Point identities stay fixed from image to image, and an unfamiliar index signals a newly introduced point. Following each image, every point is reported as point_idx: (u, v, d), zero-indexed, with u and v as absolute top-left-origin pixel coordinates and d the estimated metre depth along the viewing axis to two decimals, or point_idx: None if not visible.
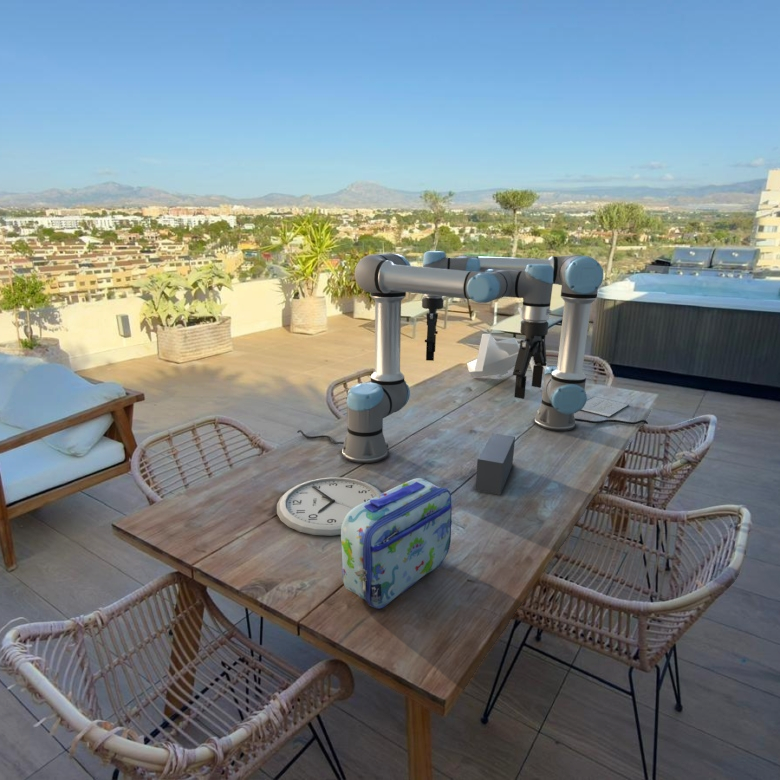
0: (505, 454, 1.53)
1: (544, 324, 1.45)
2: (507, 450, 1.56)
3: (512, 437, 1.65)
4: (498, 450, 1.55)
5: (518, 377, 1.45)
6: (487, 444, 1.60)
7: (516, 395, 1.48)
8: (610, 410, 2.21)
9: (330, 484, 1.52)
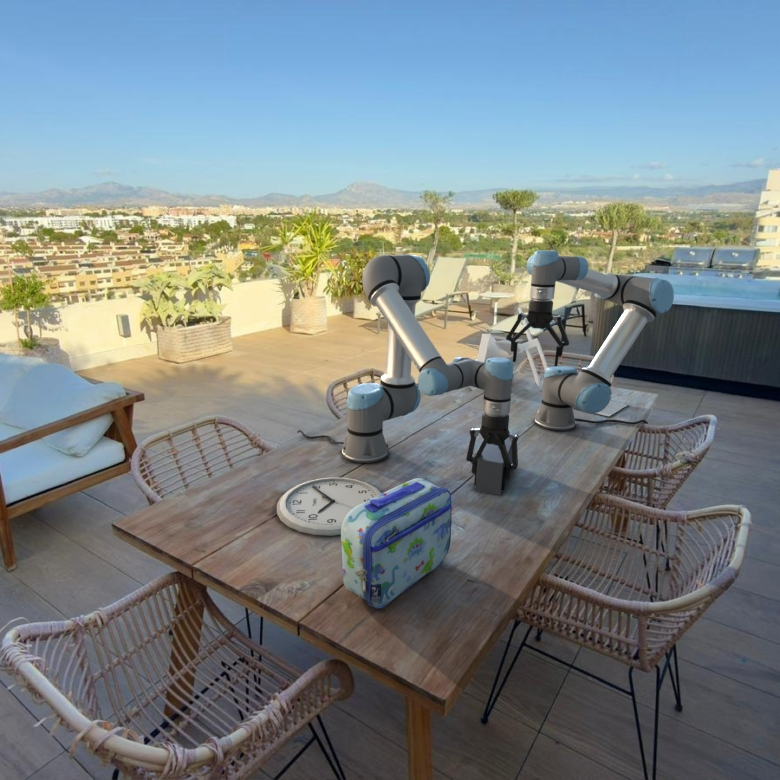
0: None
1: (488, 417, 1.45)
2: (507, 450, 1.56)
3: None
4: (498, 450, 1.55)
5: None
6: (487, 444, 1.60)
7: None
8: (610, 410, 2.21)
9: (330, 484, 1.52)
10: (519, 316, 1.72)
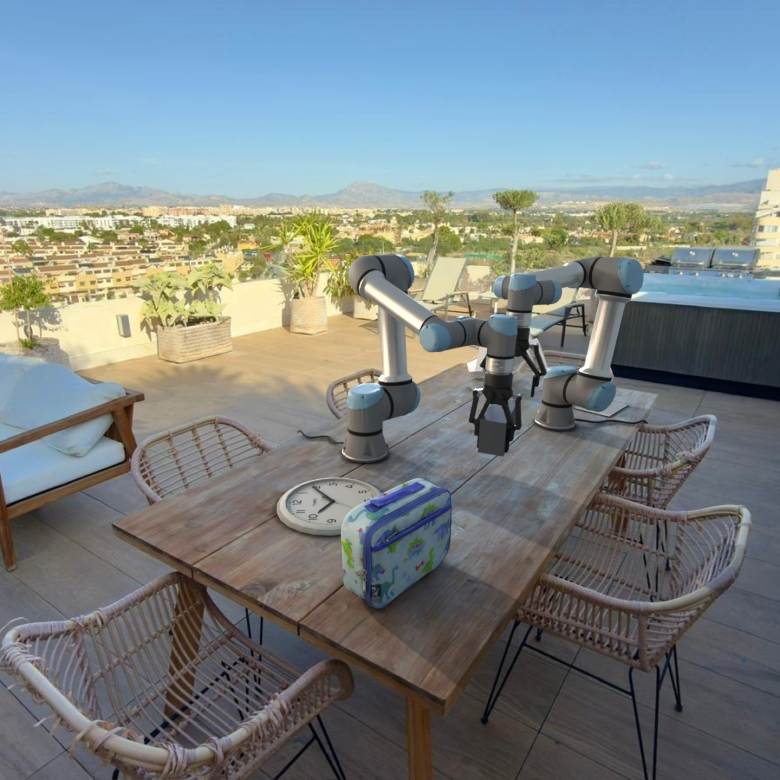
0: None
1: (491, 376, 1.41)
2: None
3: None
4: (501, 412, 1.52)
5: None
6: (490, 407, 1.56)
7: None
8: (610, 410, 2.21)
9: (330, 484, 1.52)
10: None
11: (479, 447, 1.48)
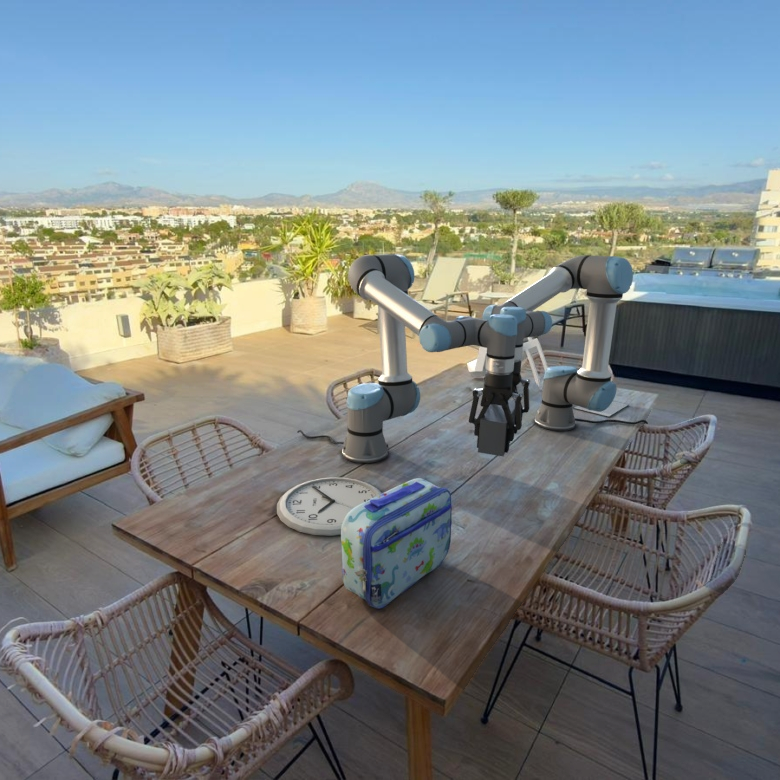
0: None
1: (491, 376, 1.41)
2: None
3: None
4: (501, 412, 1.52)
5: None
6: (490, 407, 1.56)
7: None
8: (610, 410, 2.21)
9: (330, 484, 1.52)
10: None
11: (479, 447, 1.48)
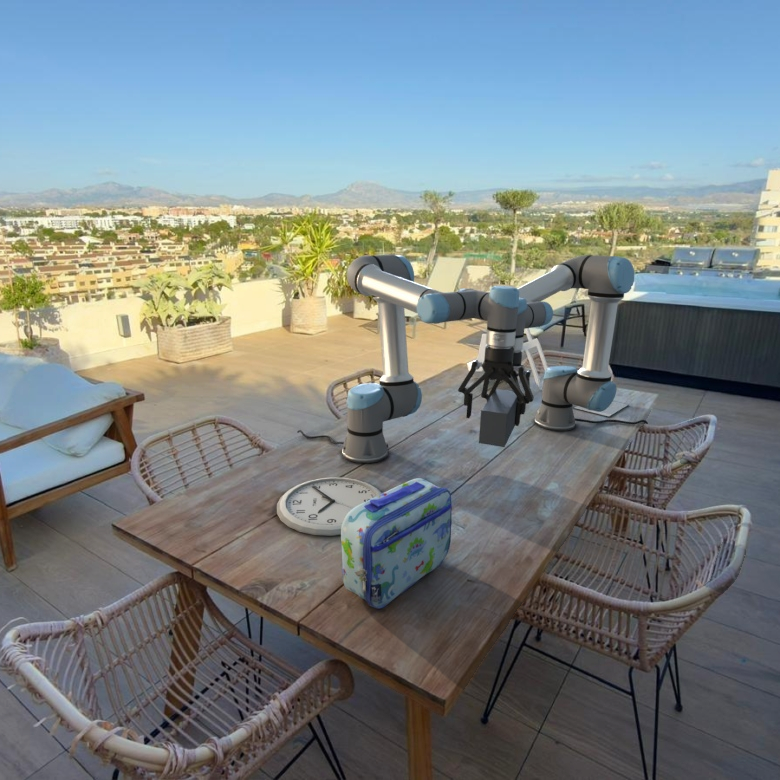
0: (509, 406, 1.49)
1: (491, 350, 1.36)
2: (511, 403, 1.51)
3: None
4: (502, 403, 1.51)
5: None
6: (491, 398, 1.55)
7: None
8: (610, 410, 2.21)
9: (330, 484, 1.52)
10: None
11: (480, 438, 1.48)
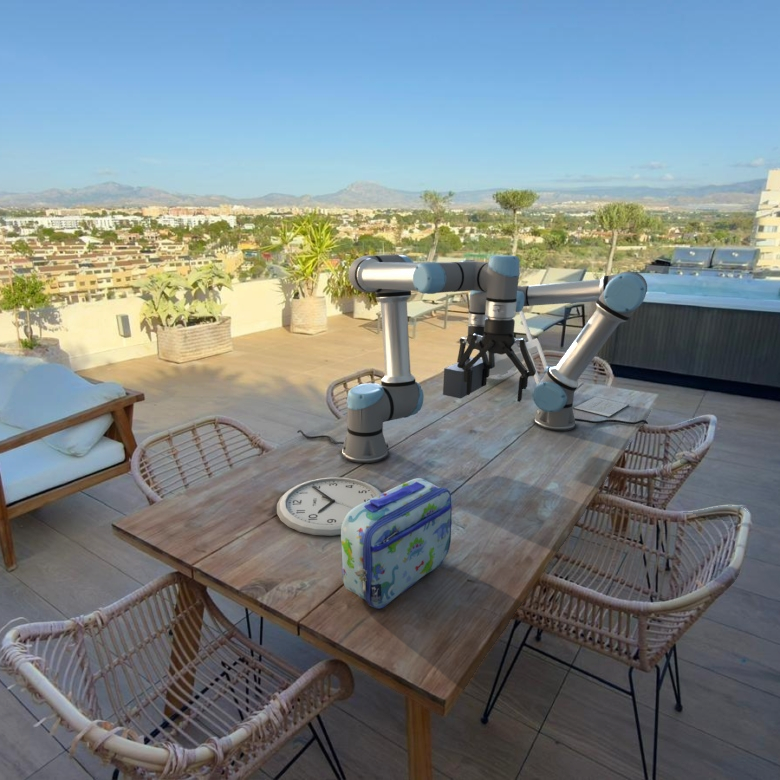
0: None
1: (491, 321, 1.31)
2: (473, 366, 1.91)
3: None
4: None
5: None
6: None
7: None
8: (610, 410, 2.21)
9: (330, 484, 1.52)
10: (461, 340, 2.00)
11: (444, 390, 1.89)
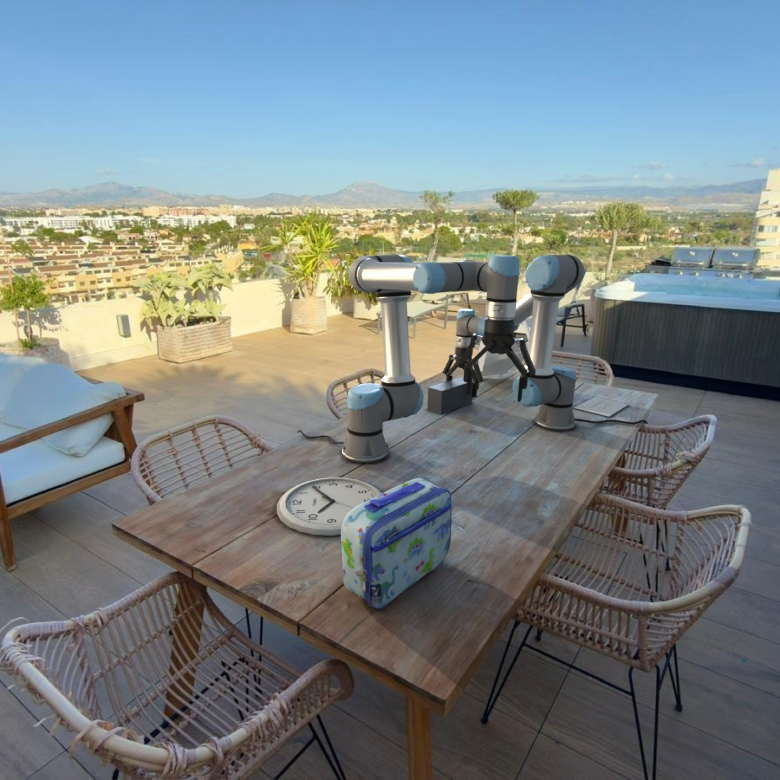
0: (450, 387, 2.16)
1: (491, 321, 1.31)
2: (455, 386, 2.18)
3: None
4: (449, 385, 2.19)
5: None
6: (446, 382, 2.24)
7: None
8: (610, 410, 2.21)
9: (330, 484, 1.52)
10: (450, 356, 2.27)
11: (428, 406, 2.18)
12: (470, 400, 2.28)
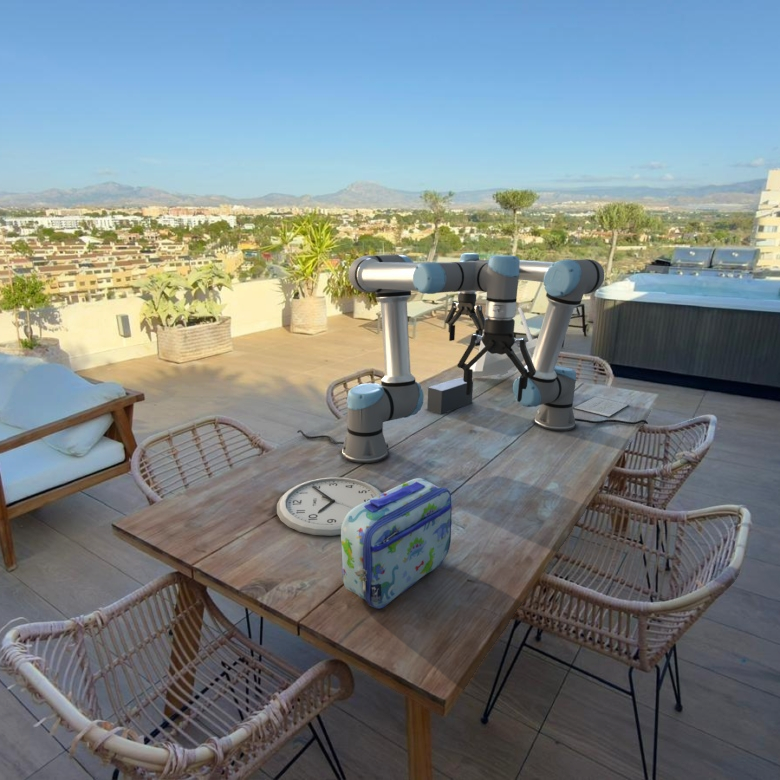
0: (450, 387, 2.16)
1: (491, 321, 1.31)
2: (455, 386, 2.18)
3: None
4: (449, 385, 2.19)
5: None
6: (446, 382, 2.24)
7: None
8: (610, 410, 2.21)
9: (330, 484, 1.52)
10: (452, 304, 2.20)
11: (428, 406, 2.18)
12: (470, 400, 2.28)
